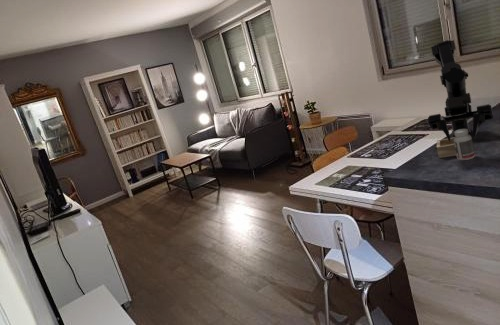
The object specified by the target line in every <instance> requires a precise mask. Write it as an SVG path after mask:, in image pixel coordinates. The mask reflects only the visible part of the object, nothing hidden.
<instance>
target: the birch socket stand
mask: <svg viewBox="0 0 500 325" xmlns="http://www.w3.org/2000/svg"><path fill="white" fill-rule="evenodd" d="M455 137H456V136H452V137H450V138H451V142H449V140H448V138H442V139H437V140H436V150H437V155H438V158H439V159H441V158H447V157H454V156H456V151H455V146H454V142H453V139H454V138H455Z"/></svg>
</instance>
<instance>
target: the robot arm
mask: <svg viewBox="0 0 500 325" xmlns="http://www.w3.org/2000/svg"><path fill="white" fill-rule="evenodd" d="M456 50H457V49H456V43H455V40H450V39H447V40H443V41H440V42H438V43H436V44H433V46H431V47H430V51H431V57H434V60H435V63H437V64H438V65H439V66H440V67H441V68H440V72H441V75H439V78H440V82H441V86H444V88H445V89H446V93H447V94H446V95H447V98H446V99H445V107H444V113H445V114H444V115H445V116H443V115H441V113H435V114H431V115H429V116H428V117H427V123H428V125H429V127H430V129H431V130H436V129H437V130H439V131H442V132H443V133H444V134H445V137H446V139H448V140H449V142H451V138H452V137H456V136H455V134H454V131H456V130H459V129H468V135H470V134H471V133H472V136H473V139H476V137H477V135H478V133H479V129H480V127H481V126H482V124H483V123H485V122H486V121H489V120H492V119H494V114H493V108H492V105H491V104H489V103H488V104H483V105H478V106H477V105H476V110H472V105H471V104H472V97H471V94H470V92H467V88H466V86H467V85H466V80H467V79H468V77H469V73H468V72H466V70H465V69H462V66H461V64H460V63H457V62H456V60H455V58H454V57H455V51H456ZM468 119H473V120H472V122H473V124H472V131H471V127H469V122H468ZM449 122H450V123H451V129H452V131H451V134H450V132H449V131H450V130H449V128H448V125H447V123H449ZM451 135H452V137H451Z"/></svg>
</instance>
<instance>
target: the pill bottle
mask: <svg viewBox="0 0 500 325" xmlns="http://www.w3.org/2000/svg"><path fill="white" fill-rule="evenodd" d="M454 134H455V136H454V137H455V138H454V139H453V142H454V146H455V151H456V155H455V156H456V158H457V160H458V161H467V160H473V158H475V157H476V152H475V148H474V142H473V138H472V136H471V135H470V134H468V129H459V130H456V131H454Z"/></svg>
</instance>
